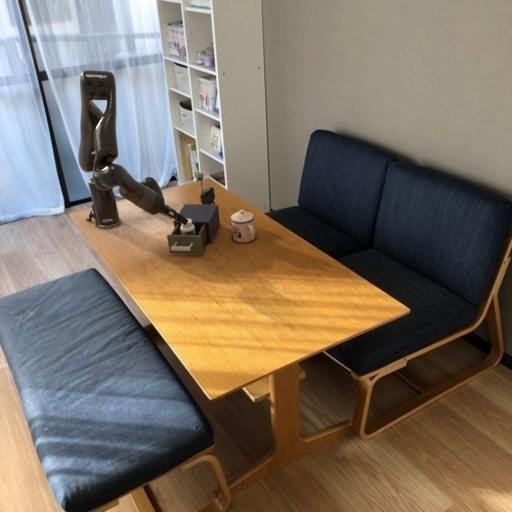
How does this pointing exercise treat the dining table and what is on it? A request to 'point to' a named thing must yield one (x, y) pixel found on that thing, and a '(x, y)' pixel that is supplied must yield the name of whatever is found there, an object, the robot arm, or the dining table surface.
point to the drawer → (188, 240)
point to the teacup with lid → (243, 226)
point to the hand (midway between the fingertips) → (180, 219)
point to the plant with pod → (206, 192)
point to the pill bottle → (187, 228)
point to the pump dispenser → (152, 184)
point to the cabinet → (202, 217)
